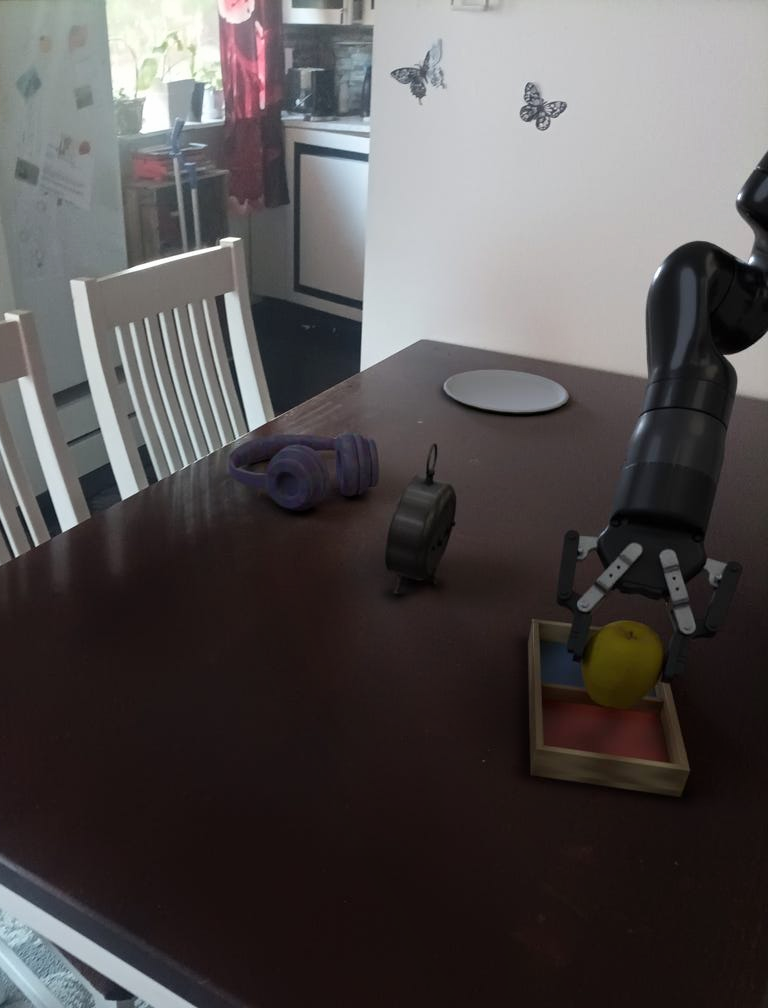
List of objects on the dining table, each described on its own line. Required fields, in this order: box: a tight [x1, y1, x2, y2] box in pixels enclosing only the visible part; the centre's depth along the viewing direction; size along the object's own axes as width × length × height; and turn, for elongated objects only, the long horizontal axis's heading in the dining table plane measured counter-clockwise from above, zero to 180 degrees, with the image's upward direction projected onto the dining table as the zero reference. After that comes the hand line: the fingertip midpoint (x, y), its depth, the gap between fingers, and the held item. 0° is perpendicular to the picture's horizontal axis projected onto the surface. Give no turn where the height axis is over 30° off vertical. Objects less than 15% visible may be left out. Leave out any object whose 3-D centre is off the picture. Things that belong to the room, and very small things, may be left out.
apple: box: [581, 620, 666, 709], centre depth 74 cm, size 6×6×8 cm
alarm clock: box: [384, 442, 457, 597], centre depth 97 cm, size 11×5×16 cm, turn 154°
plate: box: [443, 369, 570, 415], centre depth 152 cm, size 21×21×1 cm
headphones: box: [227, 432, 380, 512], centre depth 120 cm, size 18×8×20 cm
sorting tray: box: [527, 618, 691, 798], centre depth 82 cm, size 12×20×3 cm, turn 168°
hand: (621, 670), depth 72 cm, fingers closed on apple, 6 cm apart
